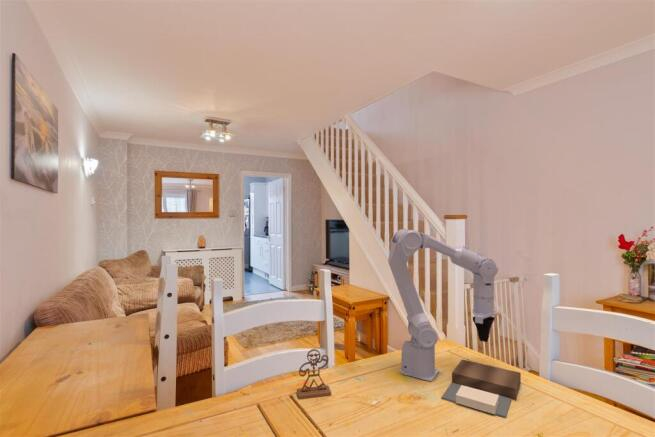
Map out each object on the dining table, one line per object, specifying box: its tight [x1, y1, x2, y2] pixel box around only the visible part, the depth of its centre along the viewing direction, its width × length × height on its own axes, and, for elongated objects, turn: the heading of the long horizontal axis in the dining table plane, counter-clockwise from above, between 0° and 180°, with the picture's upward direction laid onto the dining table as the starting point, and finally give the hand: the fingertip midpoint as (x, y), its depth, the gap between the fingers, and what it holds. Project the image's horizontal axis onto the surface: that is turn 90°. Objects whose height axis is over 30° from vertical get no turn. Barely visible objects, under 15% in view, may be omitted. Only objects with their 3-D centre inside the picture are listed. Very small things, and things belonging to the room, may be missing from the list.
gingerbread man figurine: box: [296, 348, 332, 400], centre depth 91 cm, size 9×4×12 cm, turn 102°
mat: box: [441, 382, 512, 419], centre depth 87 cm, size 15×10×1 cm, turn 55°
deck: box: [451, 359, 522, 401], centre depth 96 cm, size 16×11×3 cm
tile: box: [455, 385, 499, 415], centre depth 85 cm, size 9×6×2 cm, turn 55°
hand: (483, 340), depth 103 cm, fingers closed
